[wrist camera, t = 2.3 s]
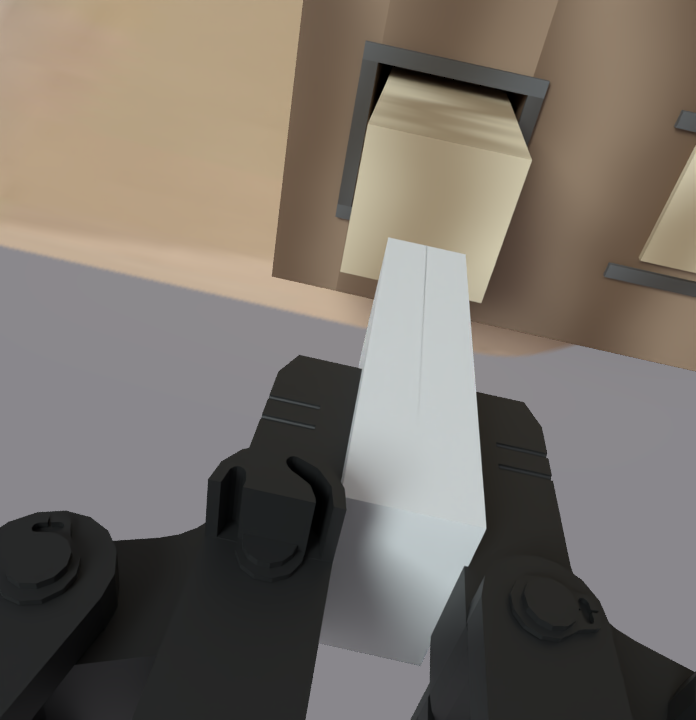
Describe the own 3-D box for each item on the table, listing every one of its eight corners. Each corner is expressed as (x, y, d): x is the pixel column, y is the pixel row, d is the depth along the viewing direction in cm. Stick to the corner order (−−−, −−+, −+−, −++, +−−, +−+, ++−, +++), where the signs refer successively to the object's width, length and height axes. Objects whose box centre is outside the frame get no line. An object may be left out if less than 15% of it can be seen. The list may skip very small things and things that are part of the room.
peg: (505, 91, 21) (532, 160, 14) (472, 201, 23) (481, 303, 17) (393, 67, 21) (368, 123, 14) (370, 178, 23) (340, 271, 17)
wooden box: (843, 20, 24) (1023, 56, 17) (691, 282, 31) (769, 391, 24) (354, -86, 24) (312, -98, 17) (313, 197, 31) (270, 279, 24)
